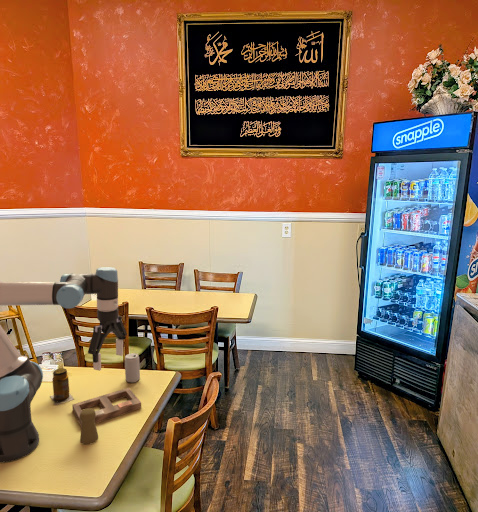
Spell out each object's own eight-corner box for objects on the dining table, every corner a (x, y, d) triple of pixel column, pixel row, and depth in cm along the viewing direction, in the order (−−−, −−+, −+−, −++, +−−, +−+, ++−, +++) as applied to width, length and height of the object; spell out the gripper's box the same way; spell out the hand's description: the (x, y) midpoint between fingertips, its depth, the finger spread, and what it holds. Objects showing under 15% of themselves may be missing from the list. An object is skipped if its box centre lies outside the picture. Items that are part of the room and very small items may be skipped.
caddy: (81, 428, 143) (81, 420, 142) (72, 410, 154) (72, 403, 153) (141, 407, 156) (141, 401, 155) (128, 392, 167) (128, 386, 167)
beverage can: (137, 383, 175) (136, 358, 173) (123, 383, 175) (122, 358, 173) (141, 376, 181) (140, 352, 179) (128, 376, 181) (127, 352, 179)
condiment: (68, 391, 168) (66, 365, 166) (74, 399, 162) (72, 372, 159) (50, 396, 163) (47, 370, 161) (55, 405, 157) (53, 378, 155)
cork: (92, 445, 133) (90, 416, 131) (76, 443, 134) (74, 414, 132) (101, 434, 139) (100, 407, 137) (86, 432, 140) (84, 405, 138)
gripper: (94, 320, 131) (95, 378, 135) (135, 301, 155) (135, 351, 158) (75, 317, 133) (78, 374, 137) (119, 298, 157) (120, 348, 160)
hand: (109, 362), depth 148 cm, fingers open, 13 cm apart
